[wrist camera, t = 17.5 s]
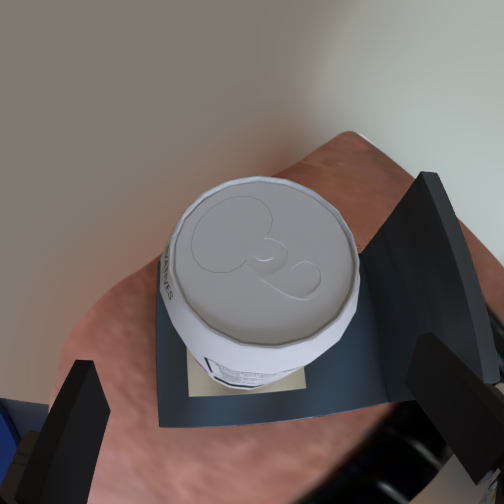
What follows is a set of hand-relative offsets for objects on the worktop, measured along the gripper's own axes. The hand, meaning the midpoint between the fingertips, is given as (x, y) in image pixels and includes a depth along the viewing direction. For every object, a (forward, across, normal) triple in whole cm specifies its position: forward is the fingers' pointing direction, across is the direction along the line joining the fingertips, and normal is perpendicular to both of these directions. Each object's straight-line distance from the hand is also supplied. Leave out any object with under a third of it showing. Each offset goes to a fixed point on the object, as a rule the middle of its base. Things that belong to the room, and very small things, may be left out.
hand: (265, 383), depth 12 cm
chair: (+17, +3, -10) cm, 20 cm away
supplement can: (+12, 0, -6) cm, 14 cm away
